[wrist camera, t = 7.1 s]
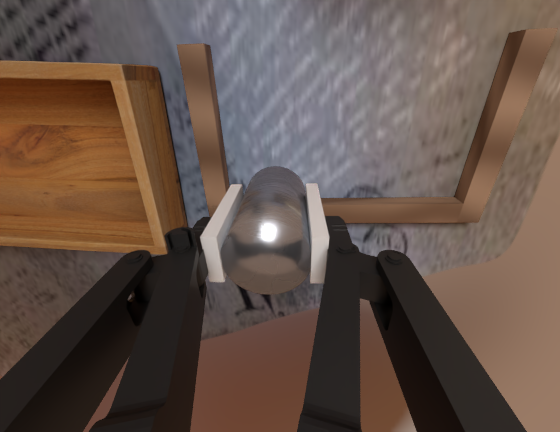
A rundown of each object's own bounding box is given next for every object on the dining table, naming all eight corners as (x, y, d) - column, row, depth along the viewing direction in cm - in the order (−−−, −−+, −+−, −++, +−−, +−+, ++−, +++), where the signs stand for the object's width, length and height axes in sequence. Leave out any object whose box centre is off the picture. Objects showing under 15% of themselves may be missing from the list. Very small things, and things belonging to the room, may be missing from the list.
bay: (184, 46, 19) (176, 44, 18) (538, 31, 18) (558, 28, 17) (215, 216, 27) (210, 223, 25) (468, 214, 25) (478, 222, 24)
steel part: (244, 166, 18) (213, 220, 11) (305, 165, 18) (313, 220, 11) (249, 219, 20) (226, 293, 13) (304, 219, 20) (310, 295, 13)
